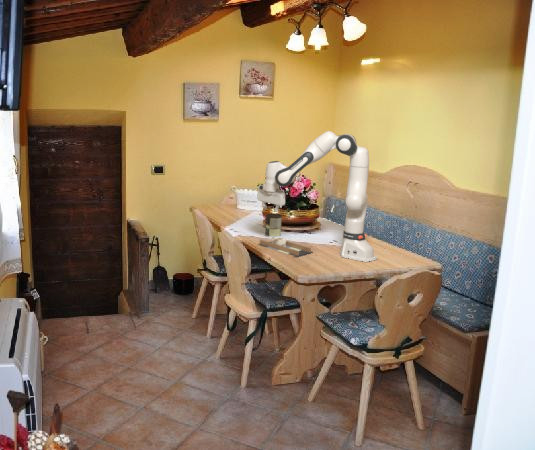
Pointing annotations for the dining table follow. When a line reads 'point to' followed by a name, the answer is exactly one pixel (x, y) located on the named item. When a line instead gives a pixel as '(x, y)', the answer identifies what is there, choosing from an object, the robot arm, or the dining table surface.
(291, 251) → the runway
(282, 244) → the block
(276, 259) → the dining table surface
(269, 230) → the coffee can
